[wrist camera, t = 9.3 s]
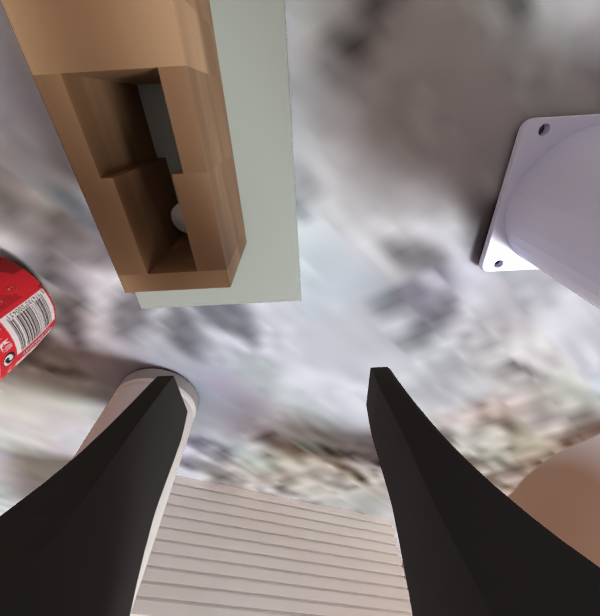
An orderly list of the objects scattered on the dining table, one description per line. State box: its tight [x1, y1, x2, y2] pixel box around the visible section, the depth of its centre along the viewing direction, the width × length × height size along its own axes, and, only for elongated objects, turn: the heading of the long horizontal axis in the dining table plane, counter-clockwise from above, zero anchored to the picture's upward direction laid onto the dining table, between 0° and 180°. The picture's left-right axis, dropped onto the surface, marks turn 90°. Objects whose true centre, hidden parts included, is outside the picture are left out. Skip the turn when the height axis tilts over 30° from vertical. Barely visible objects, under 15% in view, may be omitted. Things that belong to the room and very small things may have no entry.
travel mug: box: [74, 368, 199, 614], centre depth 17 cm, size 6×7×20 cm
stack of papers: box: [130, 476, 413, 616], centre depth 33 cm, size 32×11×11 cm, turn 66°
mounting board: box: [135, 0, 301, 308], centre depth 13 cm, size 10×20×3 cm, turn 3°
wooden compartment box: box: [1, 0, 247, 293], centre depth 10 cm, size 4×16×5 cm, turn 3°
